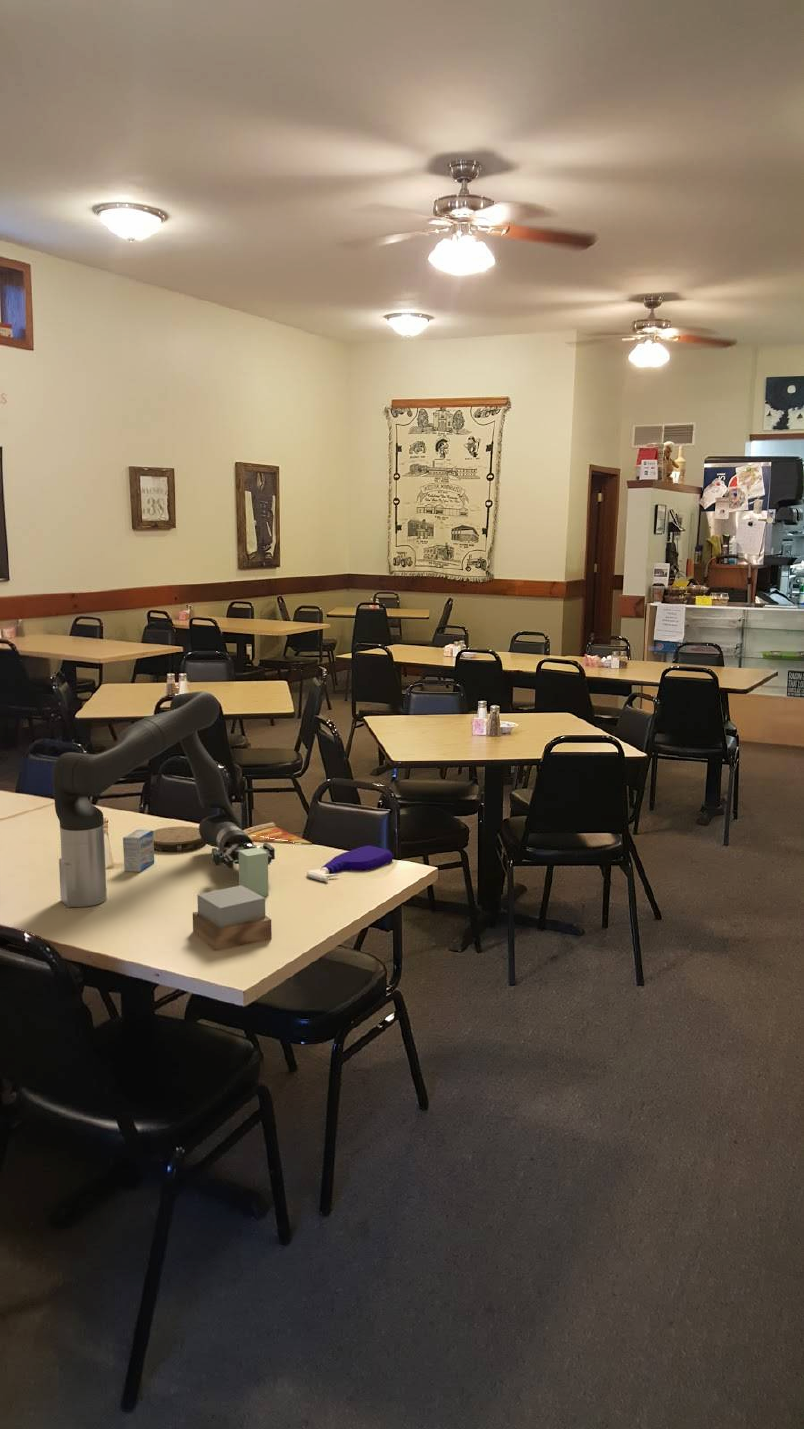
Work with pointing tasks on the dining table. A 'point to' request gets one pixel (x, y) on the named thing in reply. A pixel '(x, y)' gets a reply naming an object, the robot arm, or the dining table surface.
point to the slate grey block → (231, 906)
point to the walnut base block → (231, 932)
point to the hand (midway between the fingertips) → (250, 862)
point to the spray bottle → (353, 862)
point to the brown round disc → (177, 839)
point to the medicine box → (138, 850)
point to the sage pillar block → (254, 870)
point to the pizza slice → (272, 834)
